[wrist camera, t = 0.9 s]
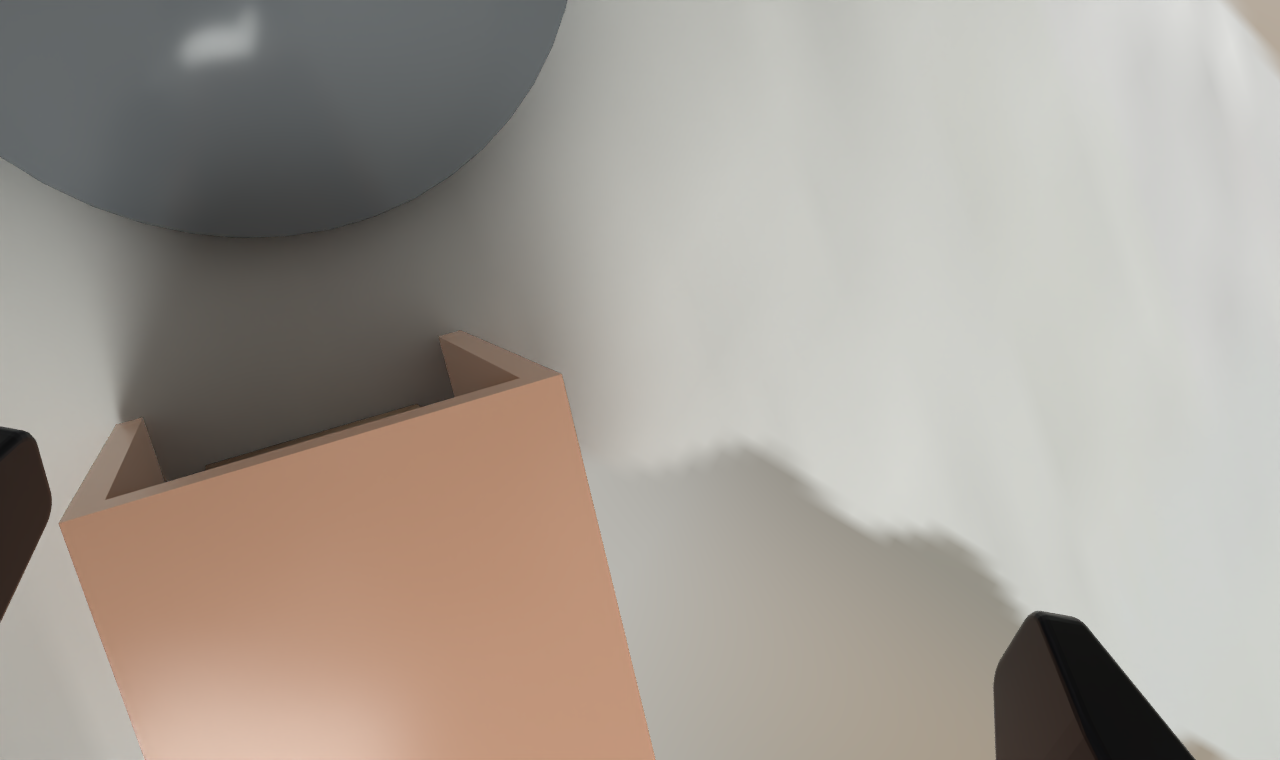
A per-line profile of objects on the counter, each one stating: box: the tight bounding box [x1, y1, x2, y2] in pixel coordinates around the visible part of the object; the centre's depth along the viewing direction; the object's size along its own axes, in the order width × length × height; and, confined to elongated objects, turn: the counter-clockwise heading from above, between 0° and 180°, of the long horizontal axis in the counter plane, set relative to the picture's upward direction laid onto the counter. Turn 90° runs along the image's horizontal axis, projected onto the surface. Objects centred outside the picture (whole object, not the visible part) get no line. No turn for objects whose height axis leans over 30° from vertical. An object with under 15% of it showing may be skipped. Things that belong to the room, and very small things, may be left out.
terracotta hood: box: [59, 330, 655, 760], centre depth 19 cm, size 7×7×8 cm
